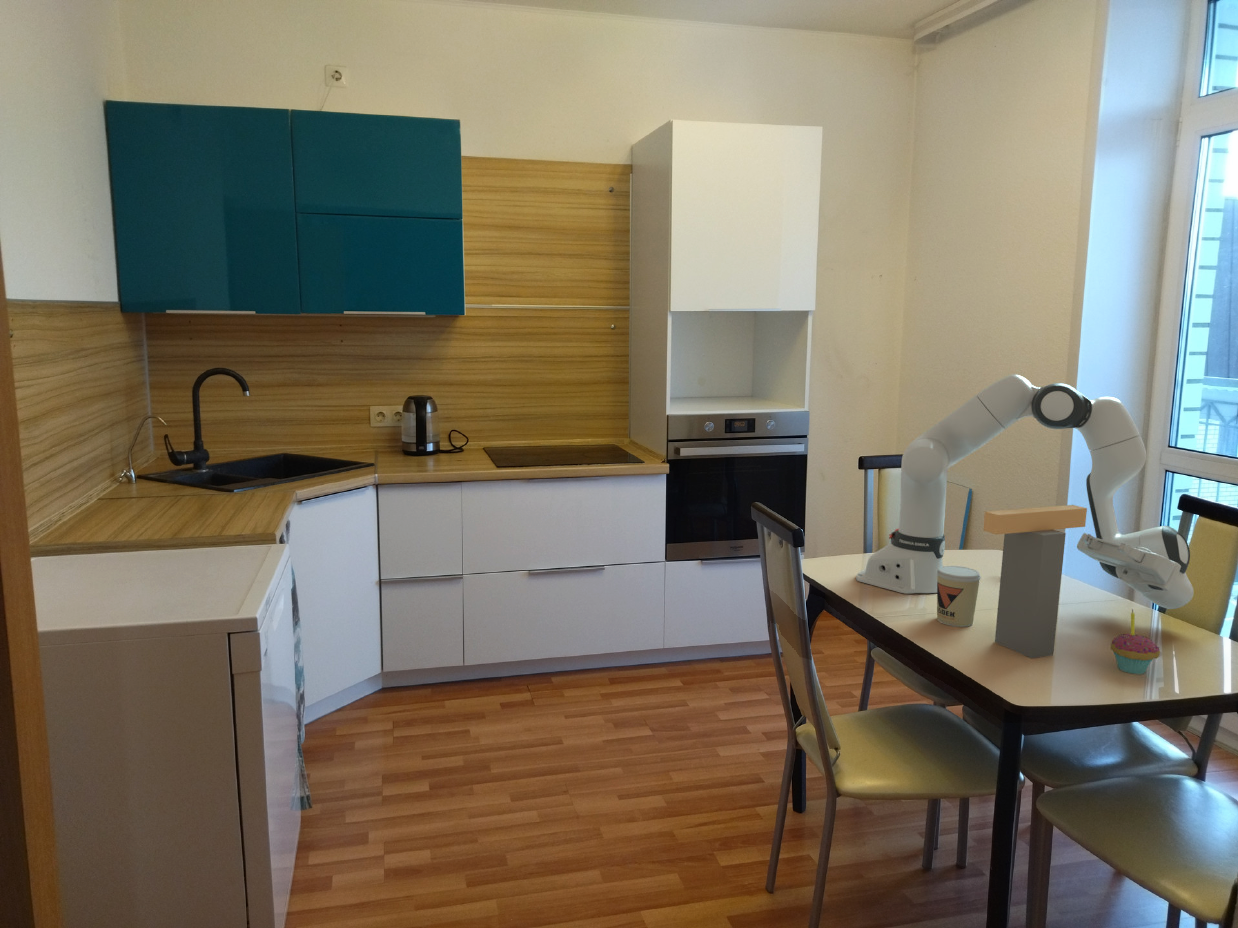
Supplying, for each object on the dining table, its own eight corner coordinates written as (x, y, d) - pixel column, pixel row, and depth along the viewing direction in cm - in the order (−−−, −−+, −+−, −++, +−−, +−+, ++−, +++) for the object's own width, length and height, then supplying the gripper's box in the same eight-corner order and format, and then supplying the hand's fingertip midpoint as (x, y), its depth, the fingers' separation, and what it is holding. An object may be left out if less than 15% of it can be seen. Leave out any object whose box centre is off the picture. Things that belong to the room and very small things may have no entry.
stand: (1016, 638, 194) (1027, 522, 189) (1053, 654, 184) (1065, 533, 180) (994, 641, 191) (1005, 524, 187) (1031, 658, 182) (1043, 535, 178)
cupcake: (1098, 661, 181) (1105, 605, 179) (1138, 661, 182) (1144, 605, 180) (1126, 678, 173) (1133, 619, 171) (1167, 677, 173) (1174, 619, 171)
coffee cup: (924, 617, 207) (928, 567, 205) (955, 612, 211) (959, 563, 209) (954, 630, 198) (958, 578, 197) (985, 625, 202) (990, 574, 200)
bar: (1070, 523, 190) (1072, 504, 189) (1085, 526, 186) (1087, 508, 186) (983, 530, 181) (984, 511, 180) (996, 534, 178) (998, 515, 177)
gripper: (1105, 544, 207) (1069, 518, 201) (1188, 567, 188) (1152, 539, 183) (1092, 568, 207) (1057, 542, 201) (1175, 593, 188) (1138, 566, 182)
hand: (1103, 541), depth 192 cm, fingers open, 8 cm apart
